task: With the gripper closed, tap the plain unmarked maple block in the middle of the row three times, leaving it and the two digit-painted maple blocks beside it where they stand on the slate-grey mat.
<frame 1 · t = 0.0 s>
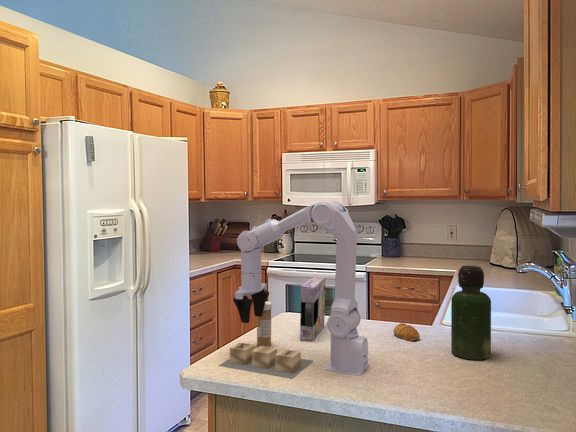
hand: (252, 319, 134), 10 cm above the worktop, fingers open, 7 cm apart
block one: (288, 368, 121), resting on tap mat
green bottle: (470, 355, 132), on the worktop
sprinkles bottle: (264, 347, 140), on the worktop, touching gripper
cake pan box: (313, 334, 154), on the worktop
tap mat: (266, 364, 125), on the worktop
plain block: (264, 364, 124), resting on tap mat
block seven: (242, 360, 127), resting on tap mat
pastry: (407, 338, 149), on the worktop
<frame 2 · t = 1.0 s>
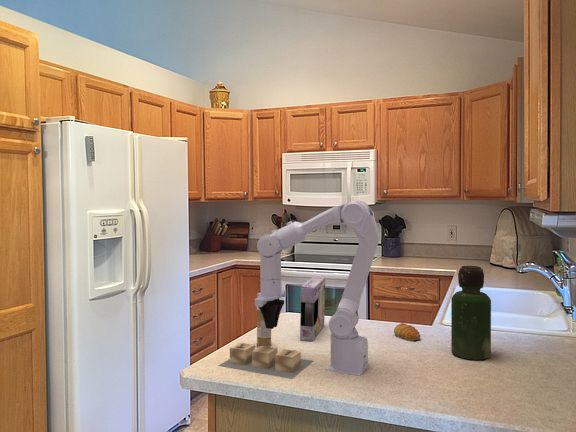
hand: (271, 327, 128), 9 cm above the worktop, fingers closed
sprinkles bottle: (264, 347, 140), on the worktop
everything else where it was.
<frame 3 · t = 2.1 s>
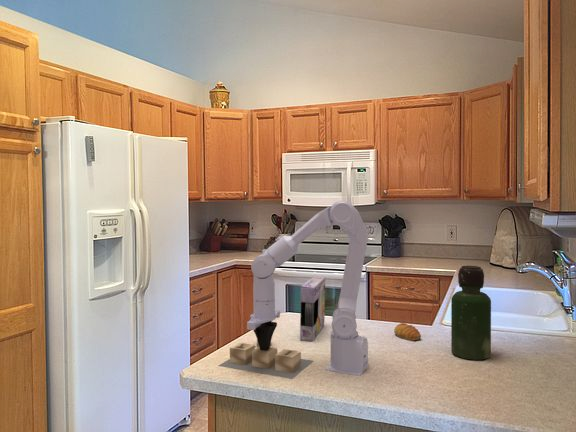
hand: (264, 350, 124), 4 cm above the worktop, fingers closed, pressing on plain block
plain block: (264, 364, 124), resting on tap mat, touching gripper
everything else where it was.
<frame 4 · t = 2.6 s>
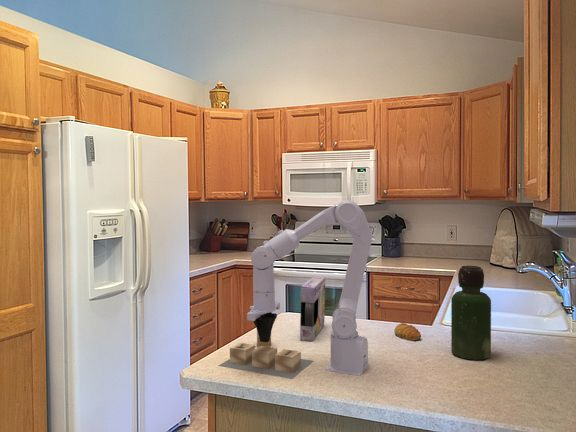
hand: (264, 341, 124), 7 cm above the worktop, fingers closed
plain block: (264, 364, 124), resting on tap mat
everything else where it was.
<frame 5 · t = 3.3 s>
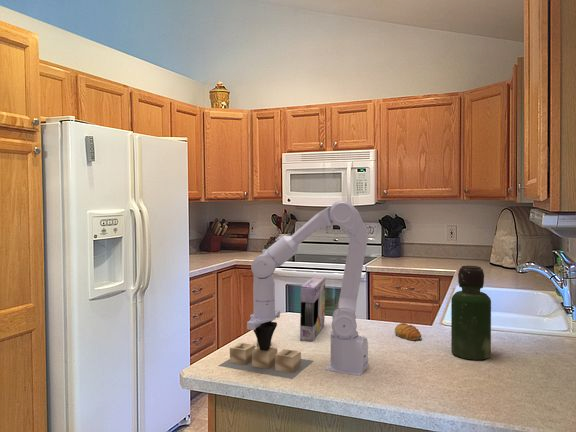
hand: (264, 350, 124), 4 cm above the worktop, fingers closed, pressing on plain block
plain block: (264, 364, 124), resting on tap mat, touching gripper
everything else where it was.
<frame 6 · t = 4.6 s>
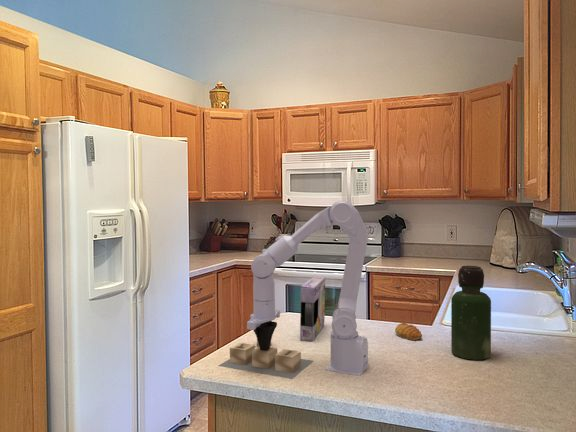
hand: (264, 349, 124), 4 cm above the worktop, fingers closed, pressing on plain block
plain block: (264, 364, 124), resting on tap mat, touching gripper
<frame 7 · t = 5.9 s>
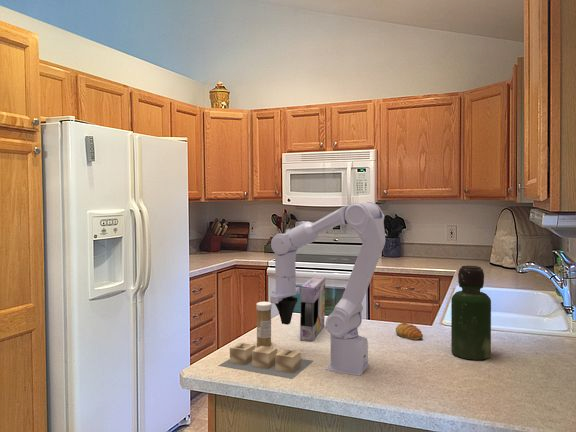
hand: (286, 323, 131), 9 cm above the worktop, fingers closed
plain block: (264, 364, 124), resting on tap mat
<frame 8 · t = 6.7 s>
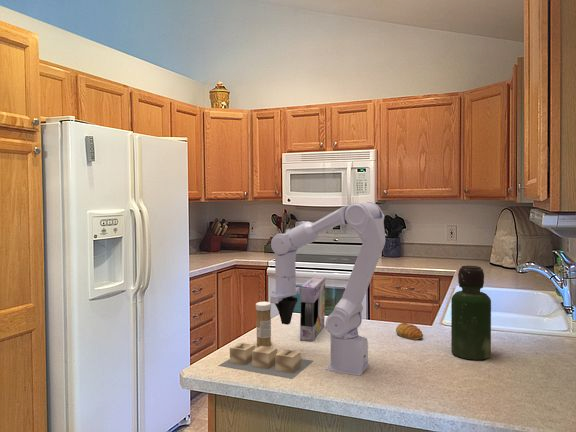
hand: (286, 323, 131), 9 cm above the worktop, fingers closed
at the end: plain block moved 0.0 cm from its start; block one moved 0.0 cm from its start; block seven moved 0.0 cm from its start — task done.
